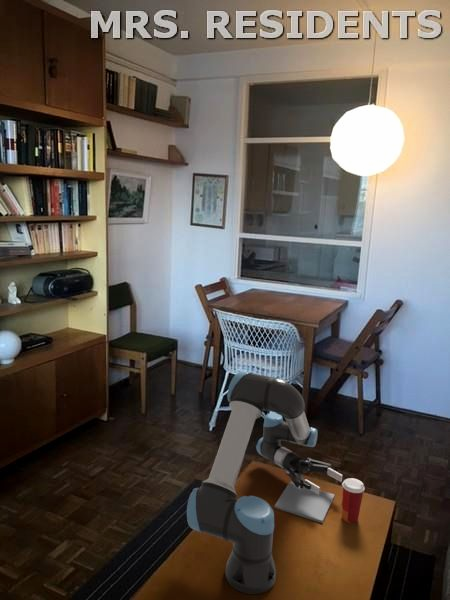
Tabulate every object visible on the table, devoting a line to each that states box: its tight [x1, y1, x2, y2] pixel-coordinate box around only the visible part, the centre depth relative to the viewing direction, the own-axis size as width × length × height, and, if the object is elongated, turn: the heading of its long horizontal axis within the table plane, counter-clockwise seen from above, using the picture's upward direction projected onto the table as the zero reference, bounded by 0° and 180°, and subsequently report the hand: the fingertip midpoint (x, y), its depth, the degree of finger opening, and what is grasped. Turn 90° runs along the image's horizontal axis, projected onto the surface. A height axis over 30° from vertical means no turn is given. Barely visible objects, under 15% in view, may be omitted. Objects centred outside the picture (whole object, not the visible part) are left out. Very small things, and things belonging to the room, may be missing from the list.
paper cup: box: [341, 477, 365, 524], centre depth 175 cm, size 8×8×14 cm
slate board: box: [273, 480, 335, 524], centre depth 184 cm, size 18×18×1 cm
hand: (330, 484), depth 182 cm, fingers open, 13 cm apart
